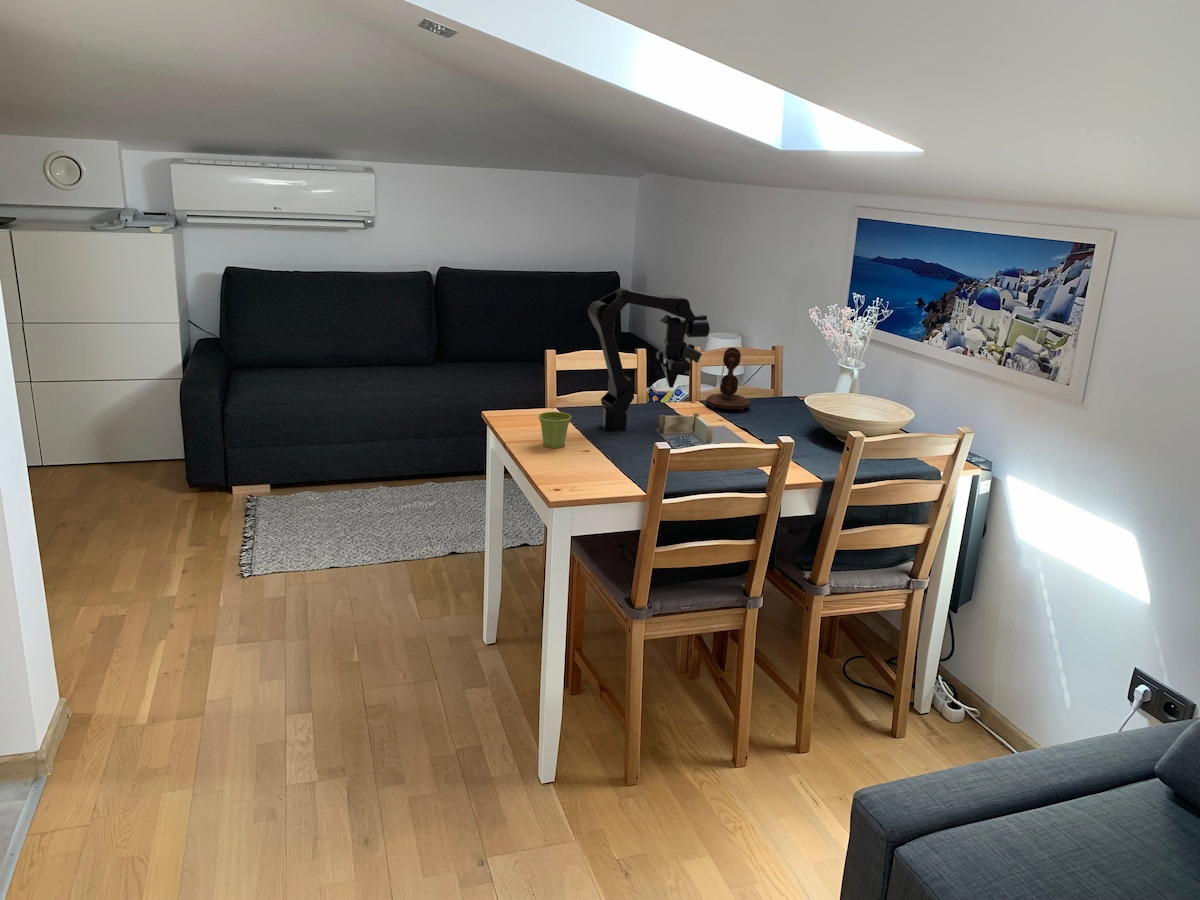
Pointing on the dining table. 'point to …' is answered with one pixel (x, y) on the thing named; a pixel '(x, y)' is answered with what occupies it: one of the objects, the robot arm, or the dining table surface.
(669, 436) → the card
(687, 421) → the fence fixed section
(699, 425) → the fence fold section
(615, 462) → the dining table surface
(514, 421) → the dining table surface
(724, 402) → the brown round-based upright piece
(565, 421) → the plant pot
